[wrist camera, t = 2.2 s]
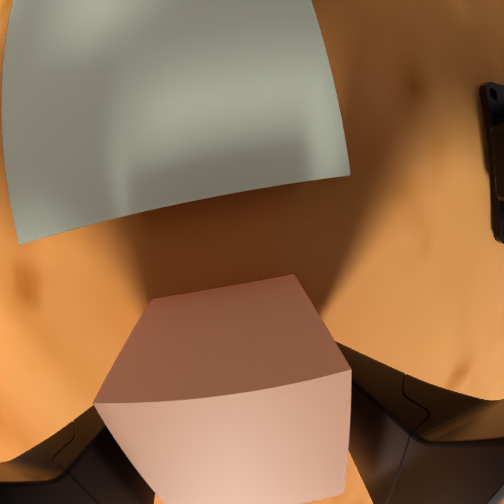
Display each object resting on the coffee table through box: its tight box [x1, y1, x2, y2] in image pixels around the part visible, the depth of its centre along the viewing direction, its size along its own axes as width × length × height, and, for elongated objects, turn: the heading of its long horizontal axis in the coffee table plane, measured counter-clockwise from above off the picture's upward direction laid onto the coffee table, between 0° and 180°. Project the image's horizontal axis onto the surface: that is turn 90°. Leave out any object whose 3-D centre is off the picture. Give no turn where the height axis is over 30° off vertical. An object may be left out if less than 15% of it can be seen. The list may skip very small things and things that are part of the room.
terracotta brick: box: [93, 274, 352, 504], centre depth 7 cm, size 4×4×5 cm
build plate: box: [1, 0, 351, 245], centre depth 7 cm, size 10×10×1 cm
